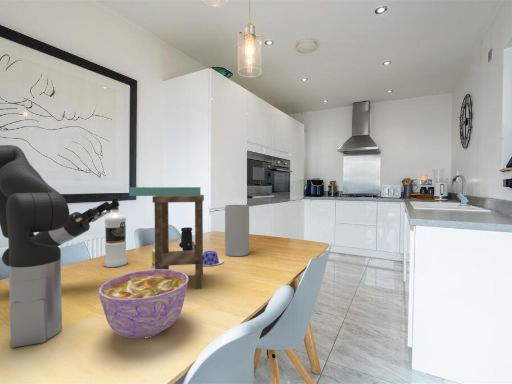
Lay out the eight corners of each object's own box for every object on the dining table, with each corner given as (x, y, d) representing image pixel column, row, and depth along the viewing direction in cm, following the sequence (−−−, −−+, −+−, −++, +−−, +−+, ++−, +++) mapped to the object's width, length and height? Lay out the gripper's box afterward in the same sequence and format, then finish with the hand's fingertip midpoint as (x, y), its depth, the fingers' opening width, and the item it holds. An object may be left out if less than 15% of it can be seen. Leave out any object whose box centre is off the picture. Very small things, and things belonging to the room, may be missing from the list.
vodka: (117, 260, 123) (117, 197, 122) (132, 263, 119) (131, 197, 119) (99, 266, 114) (98, 197, 114) (114, 268, 111) (113, 198, 110)
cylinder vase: (221, 255, 131) (220, 206, 131) (230, 250, 143) (230, 204, 143) (244, 257, 128) (244, 206, 127) (252, 251, 140) (252, 205, 139)
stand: (153, 292, 86) (152, 196, 86) (162, 275, 102) (161, 195, 101) (202, 288, 89) (202, 196, 88) (204, 273, 105) (203, 194, 104)
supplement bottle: (160, 267, 112) (160, 245, 112) (149, 267, 113) (149, 244, 113) (167, 264, 117) (167, 242, 117) (156, 263, 118) (156, 242, 118)
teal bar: (129, 196, 90) (129, 187, 90) (131, 195, 93) (131, 187, 93) (200, 195, 94) (200, 187, 94) (200, 195, 97) (200, 187, 97)
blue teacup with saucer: (197, 268, 112) (197, 256, 112) (196, 260, 124) (195, 249, 124) (225, 266, 116) (224, 254, 116) (221, 258, 127) (221, 248, 127)
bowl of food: (161, 303, 78) (161, 264, 78) (205, 326, 65) (205, 279, 65) (85, 332, 62) (84, 284, 62) (123, 369, 50) (122, 309, 49)
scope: (194, 229, 127) (175, 229, 129) (194, 258, 127) (175, 257, 129) (201, 227, 135) (183, 226, 137) (201, 254, 135) (183, 253, 137)
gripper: (50, 221, 81) (99, 194, 84) (74, 216, 95) (115, 193, 98) (64, 241, 82) (112, 214, 84) (85, 233, 96) (126, 210, 98)
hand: (113, 203), depth 91 cm, fingers open, 8 cm apart
